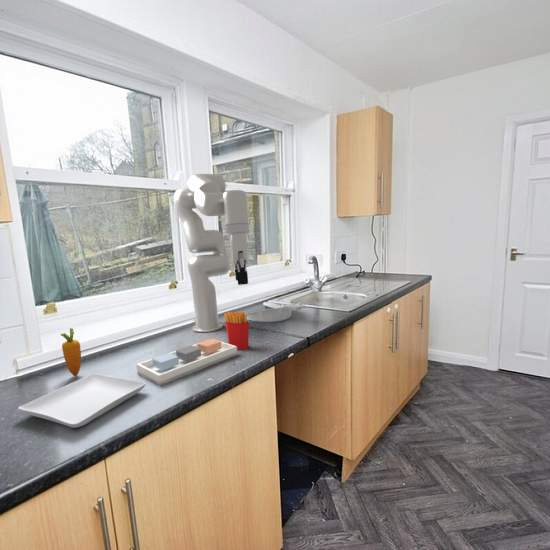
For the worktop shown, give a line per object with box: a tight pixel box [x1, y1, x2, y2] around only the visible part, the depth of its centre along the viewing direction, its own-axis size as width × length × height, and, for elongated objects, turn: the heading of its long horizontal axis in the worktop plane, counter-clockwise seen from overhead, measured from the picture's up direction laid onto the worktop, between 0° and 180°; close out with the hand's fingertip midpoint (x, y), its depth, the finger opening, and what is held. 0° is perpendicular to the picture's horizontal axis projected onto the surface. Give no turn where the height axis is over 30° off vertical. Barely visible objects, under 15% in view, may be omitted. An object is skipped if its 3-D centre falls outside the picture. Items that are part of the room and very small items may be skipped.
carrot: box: [60, 328, 82, 377], centre depth 106 cm, size 5×5×15 cm
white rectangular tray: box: [136, 338, 238, 387], centre depth 111 cm, size 14×28×3 cm, turn 136°
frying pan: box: [245, 301, 306, 323], centre depth 156 cm, size 23×33×10 cm
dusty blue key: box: [151, 352, 179, 370], centre depth 105 cm, size 6×6×2 cm
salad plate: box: [17, 373, 147, 429], centre depth 88 cm, size 21×21×3 cm
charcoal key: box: [175, 345, 201, 362], centre depth 111 cm, size 6×6×2 cm
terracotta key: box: [196, 338, 222, 354], centre depth 116 cm, size 6×6×2 cm
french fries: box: [223, 311, 250, 351], centre depth 123 cm, size 9×4×13 cm, turn 61°
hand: (241, 282), depth 114 cm, fingers open, 9 cm apart
